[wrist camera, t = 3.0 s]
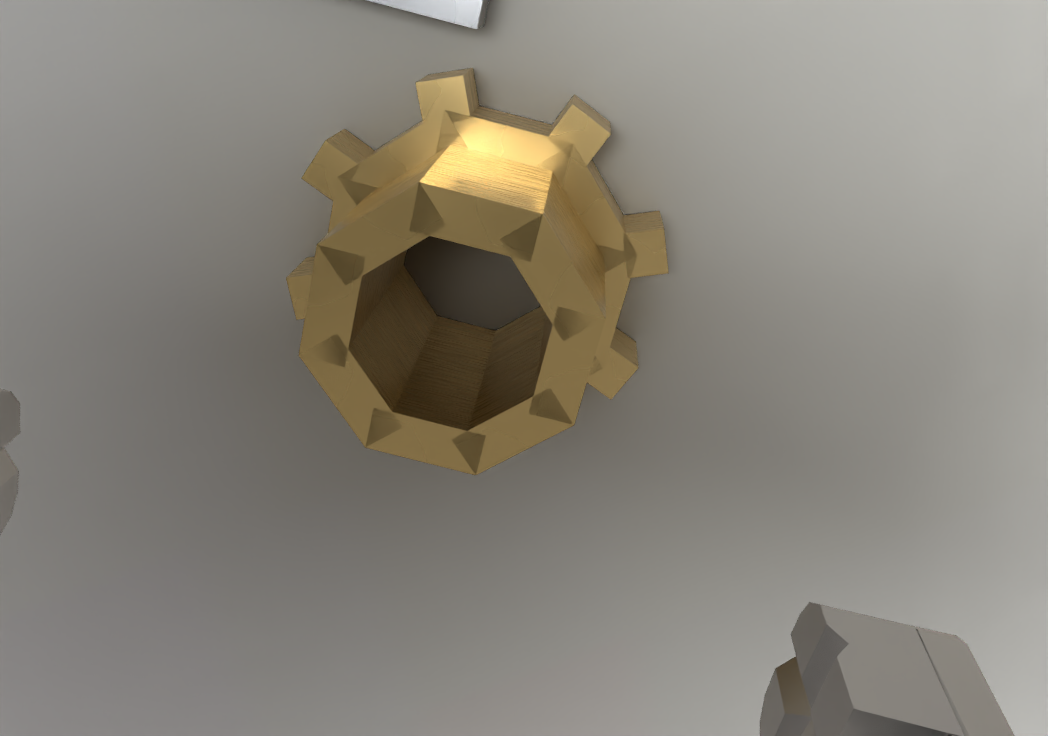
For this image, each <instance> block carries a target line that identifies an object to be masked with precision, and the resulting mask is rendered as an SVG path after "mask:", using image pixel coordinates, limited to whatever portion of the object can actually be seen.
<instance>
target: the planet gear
mask: <svg viewBox="0 0 1048 736" xmlns="http://www.w3.org/2000/svg"><path fill="white" fill-rule="evenodd" d="M416 89H417V94H418V99H419V105H420V110H421V115H422V121H421V122H419V123H418V124H416V125H415V126H413V127H411V128H410V129H408V130H407V131H405V132H403V133H402V134H400V135H399V136H397V137H395V138H394V139H392V140H391V141H389V142H388V143H386V144H384V145H383V146H381V147H380V148H378V149H376V150H375V151H374V150H373V149H371V148H370V147H369V146H367V145H366V144H365V143H363V142H362V141H361V140H359V139H358V138H356V137H355V136H354V135H352V134H351V133H350V132H348V131H347V130H345V129H343V130H342V131H340V132H338V133H337V134H335V135H334V136H332V137H330V138H329V139H327V140H326V141H325V142H324V144H323V145H322V147H321V148H320V150H319V151H318V153H317V155H316V156H315V158H314V159H313V161H312V162H311V164H310V165H309V167H308V169H307V170H306V172H305V173H304V175H303V176H302V178H301V179H303V180H304V181H306V182H307V183H308V184H310V185H311V186H313V187H314V188H315V189H317V190H318V191H320V192H321V193H322V194H324V195H325V196H327V197H328V198H329V199H331V200H332V201H333V206H332V212H331V218H330V223H329V229H328V234H327V235H326V236H325V237H324V238H323V239H322V240H321V241H320V242H319V243H318V244H317V247H316V253H315V257H307V258H306V259H305V260H304V261H303V262H302V263H301V264H300V265H299V266H298V267H297V268H296V269H294V270H293V271H292V272H291V273H290V274H289V275H288V276H287V277H286V280H287V284H288V288H289V292H290V296H291V300H292V304H293V308H294V312H295V316H296V320H298V319H305V320H304V326H303V332H302V338H301V344H300V350H299V357H300V358H301V359H302V361H303V362H304V363H305V365H306V366H307V368H308V369H309V370H310V372H311V373H312V375H313V376H314V377H315V379H316V380H317V381H318V383H319V384H320V386H321V387H322V388H323V390H324V391H325V393H326V394H327V395H328V397H329V398H330V399H331V401H332V402H333V404H334V405H335V406H336V408H337V409H338V410H339V412H340V413H341V415H342V416H343V417H344V419H345V420H346V422H347V423H348V424H349V426H350V427H351V428H352V430H353V431H354V433H355V434H356V435H357V437H358V438H359V440H360V441H361V442H362V444H363V445H364V446H365V448H369V449H373V450H377V451H381V452H385V453H389V454H393V455H397V456H401V457H405V458H409V459H413V460H417V461H421V462H425V463H429V464H433V465H437V466H441V467H445V468H449V469H453V470H457V471H461V472H465V473H469V474H473V475H477V474H479V473H481V472H483V471H485V470H487V469H489V468H491V467H493V466H495V465H497V464H499V463H501V462H503V461H505V460H507V459H509V458H511V457H513V456H515V455H517V454H519V453H520V452H522V451H524V450H526V449H528V448H530V447H532V446H534V445H536V444H538V443H540V442H542V441H544V440H546V439H548V438H550V437H552V436H554V435H556V434H558V433H560V432H562V431H564V430H566V429H568V428H570V427H572V426H573V425H574V424H575V421H576V417H577V414H578V411H579V407H580V404H581V400H582V397H583V394H584V390H585V387H586V384H587V383H588V384H590V385H591V386H593V387H594V388H595V389H597V390H598V391H600V392H601V393H602V394H604V395H605V396H607V397H608V398H609V399H612V398H613V397H614V396H615V394H616V393H617V392H618V391H619V390H620V389H621V387H622V386H623V385H624V384H625V383H626V382H627V381H628V379H629V378H630V377H631V376H632V375H633V374H634V372H635V371H636V370H637V369H638V359H637V349H636V342H635V341H634V340H633V339H631V338H630V337H628V336H627V335H626V334H624V333H623V332H622V331H620V330H619V329H618V328H616V325H617V322H618V318H619V315H620V312H621V308H622V305H623V302H624V299H625V295H626V292H627V289H628V285H629V282H630V279H631V278H634V277H642V276H650V275H658V274H666V273H668V263H667V254H666V244H665V234H664V227H663V223H662V219H661V215H660V211H653V212H645V213H638V214H630V215H623V213H622V212H621V210H620V208H619V206H618V205H617V203H616V201H615V199H614V198H613V196H612V194H611V192H610V191H609V189H608V187H607V185H606V184H605V182H604V180H603V178H602V177H601V175H600V173H599V171H598V170H597V168H596V166H595V164H594V163H593V161H592V158H593V157H594V155H595V154H596V153H597V151H598V150H599V149H600V148H601V146H602V145H603V144H604V142H605V141H606V140H607V138H608V137H609V136H610V134H611V129H610V122H609V121H608V120H607V119H605V118H604V117H603V116H601V115H600V114H599V113H597V112H596V111H595V110H594V109H592V108H591V107H590V106H588V105H587V104H586V103H585V102H583V101H582V100H581V99H579V98H578V97H577V96H576V95H573V97H572V98H571V100H570V101H569V102H568V104H567V105H566V106H565V108H564V109H563V110H562V112H561V113H560V115H559V116H558V117H557V119H556V120H555V121H554V123H553V124H552V125H551V124H547V123H543V122H539V121H535V120H532V119H528V118H524V117H520V116H516V115H512V114H509V113H505V112H501V111H497V110H493V109H490V108H486V107H482V106H479V102H478V96H477V90H476V84H475V78H474V72H473V68H468V69H462V70H455V71H449V72H442V73H436V74H429V75H427V76H426V77H424V78H422V79H421V80H419V81H417V82H416ZM429 236H432V237H436V238H440V239H444V240H448V241H452V242H455V243H459V244H463V245H467V246H471V247H475V248H479V249H483V250H486V251H490V252H494V253H498V254H502V255H506V256H510V257H511V258H512V260H513V262H514V263H515V265H516V266H517V268H518V270H519V271H520V273H521V274H522V276H523V278H524V279H525V281H526V282H527V284H528V286H529V287H530V289H531V290H532V292H533V294H534V295H535V297H536V299H537V300H538V302H539V303H540V305H541V306H540V307H538V308H536V309H535V310H533V311H531V312H529V313H527V314H525V315H524V316H522V317H520V318H518V319H516V320H515V321H513V322H511V323H509V324H507V325H506V326H504V327H502V328H500V329H498V330H496V331H494V330H490V329H486V328H482V327H478V326H474V325H471V324H467V323H463V322H459V321H455V320H451V319H447V318H443V317H439V316H437V315H436V314H435V312H434V311H433V309H432V308H431V306H430V304H429V303H428V301H427V300H426V298H425V297H424V295H423V294H422V292H421V291H420V289H419V288H418V286H417V285H416V283H415V282H414V280H413V279H412V277H411V276H410V274H409V273H408V271H407V270H406V268H405V267H404V261H405V256H406V251H407V249H408V248H410V247H412V246H413V245H415V244H417V243H418V242H420V241H422V240H423V239H425V238H427V237H429Z"/></svg>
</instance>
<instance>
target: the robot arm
mask: <svg viewBox="0 0 1048 736" xmlns="http://www.w3.org/2000/svg"><path fill="white" fill-rule="evenodd" d="M19 434H20V403H19V401H18V400H17V399H16V397H15V396H14V394H13V393H12V392H11V391H8V390H4V389H1V388H0V535H1V533H2V532H3V530H4V528H5V526H6V524H7V523H8V521H9V519H10V517H11V516H12V512H13V509H14V505H15V501H16V497H17V493H18V478H19V471H18V469H17V467H16V466H15V464H14V462H13V461H12V459H11V458H10V456H9V454H8V453H7V451H6V449H5V447H6V446H7V445H8V444H9V443H10V442H11V441H12V440H13V439H14V438H15V437H16V436H17V435H19ZM791 637H792V641H793V645H794V649H795V654H796V657H794V658H792V659H791V660H789V661H787V662H786V663H784V664H782V665H781V666H779V667H777V668H776V669H775V671H774V673H773V676H772V678H771V681H770V683H769V686H768V688H767V691H766V693H765V697H764V702H763V707H762V712H761V718H760V736H1014V734H1013V732H1012V730H1011V728H1010V726H1009V724H1008V722H1007V720H1006V718H1005V717H1004V715H1003V713H1002V711H1001V709H1000V707H999V705H998V703H997V701H996V699H995V697H994V695H993V693H992V691H991V689H990V688H989V686H988V684H987V682H986V680H985V678H984V676H983V674H982V672H981V670H980V668H979V666H978V664H977V662H976V660H975V659H974V657H973V655H972V653H971V651H970V649H969V647H968V645H967V644H966V643H965V642H964V641H963V640H961V639H960V638H959V637H957V636H956V635H951V634H947V633H942V632H938V631H933V630H929V629H924V628H920V627H915V626H910V625H905V624H901V623H897V622H892V621H888V620H884V619H880V618H875V617H871V616H867V615H863V614H858V613H854V612H850V611H846V610H841V609H837V608H833V607H829V606H824V605H820V604H815V603H811V602H809V604H808V605H807V606H806V607H805V609H804V610H803V611H802V612H801V614H800V615H799V617H798V619H797V622H796V624H795V626H794V628H793V630H792V632H791Z"/></svg>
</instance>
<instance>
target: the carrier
mask: <svg viewBox="0 0 1048 736" xmlns="http://www.w3.org/2000/svg"><path fill="white" fill-rule="evenodd" d="M367 1H371V2H375V3H379V4H383V5H386V6H390V7H394V8H398V9H402V10H405V11H409V12H413V13H417V14H421V15H424V16H428V17H432V18H436V19H439V20H443V21H447V22H451V23H455V24H458V25H462V26H466V27H470V28H474V29H478V28H480V27H483V26H484V23H485V18H486V13H487V9H488V4H489V0H367Z"/></svg>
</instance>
